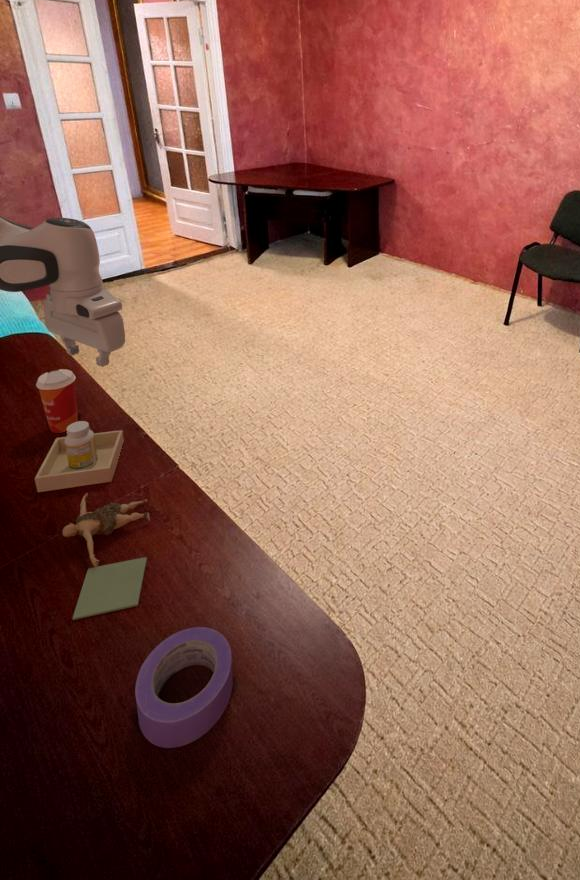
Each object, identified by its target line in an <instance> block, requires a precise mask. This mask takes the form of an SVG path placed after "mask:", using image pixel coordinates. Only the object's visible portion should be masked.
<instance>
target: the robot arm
mask: <svg viewBox="0 0 580 880" xmlns="http://www.w3.org/2000/svg"><path fill="white" fill-rule="evenodd" d="M100 260H101V259H100V252H99V247H98V243H97V238H96V235H95V233H94V230H93V228H92V227H91V226H90V225H89V224H88V223H86V222H84V221H83V220H79V219H75V218H69V217H51V218H47V219H45V220H44V221H43V222H42V223H40V224H39V225H37V226H35V227H33V226H29V225H26V224H21V223H17V222H14V221H12V220H9V219H8V218H5V217H3V216H1V215H0V291H3V292H7V293H19V292H26V291H30V290H35V289H40V288H43V287H47V286H49V288H50V289H49V291H48V292H47V293H46V295H45V299H46V301H44V303H43V315H44V325H45V328H46V330H47V331H48V332H50V333H53V334H54V335H55V334H56V335H58V336H60V337H59V339H60V340H61V342H62V343H63V346H64V347H65V350H66V354H68V355H70V356H75V355H78V354H79V353H80V346H79V345H78V344H77V343H80V344H82V345H85V346H88V347H90V348H94V349H96V350H97V351H96V352H97V353H99V355H98V356H97V357H95V361H96V365H97V366H99V367H101V368H104V367H106V366H108V365H109V364H110V358H109V357H110V355H111V353H112V352H115V351H118V350H120V349H122V348H123V347H124V346H125V343H126V331H125V323H124V318H123V315H122V314H121V313H120V312H119V311H122V310H123V303H122V301H121V300H120V299H119V298H118V297H116V296H115V295H114V294H112V293H111V292H110V291H109V289H107V288H106V287H104V283H103V279H102V276H101V274H100V265H101V264H100V263H101V261H100ZM76 342H77V343H76Z"/></svg>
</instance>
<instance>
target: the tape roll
mask: <svg viewBox="0 0 580 880" xmlns="http://www.w3.org/2000/svg"><path fill="white" fill-rule="evenodd" d="M232 655H233V654H232V649H231V646H230V644H229V642H228V640H227V638H226V637H225V636H224V635H223V634H222V633H220V632H219V631H218V630H216V629H213V628H210V627H204V626H194V627H190V628H186V629H182V630H180V631H177V632H176V633H173V634H171V635H170V636H168V637H167V638H165V639H164V640H162V641H161V642H159V644H158V645H157V646H156V647H154V649H153V650H152V651H151V652H150V653H149V654H148V656H147V657H146V659H145V660H144V662H143V663H142V665H141V667H140V669H139V672H138V675H137V677H136V681H135V688H134V689H135V690H134V695H135V703H136V710H137V719H138V725H139V728H140V731H141V733H142V735H143V736H144V738H145V739H146V740H147V741H148V742H149V743H151V744H153V745H154V746H156V747H158V748H163V749H175V748H176V749H177V748H181V747H183V746H187V745H189V744H191V743H194V742H195V741H197V740H199V739H200V738H201V737H203V736H204V735H205V734H207V733H208V732H210V730H211V729H212V728H213V727H214V726H215V725H216V724H217V722H218V721H219V720H220V719H221V717H222V716H223V714H224V713H225V712H226V711H225V710H226V709H227V707H228V705H229V703H230V700H231V697H232V691H233V684H234V681H233V680H234V679H233V658H232V657H233V656H232ZM191 666H203V667H206V668H208V669H209V670H210V671H211V672H212V673H213V674H212V676H211V678H210V680H209V681H208V683H207V684H206V685H205V687H204V688H203V689H202V690H201V691H200V692H198V693H197V694H196V695H194V696H192V697H191V698H189V699H187V700H185V701H182V702H176V703H175V702H174V703H171V702H167V701H164V700H162V699H161V698H159V694H160V692H161V690H162V689H163V687H164V685H165V684H166V682H167V681H168V680H169V679H170V678H171V677H172V676H174V675H175V674H177V672H179V671H181V670H182V669H186V668H188V667H191Z"/></svg>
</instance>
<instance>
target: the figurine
mask: <svg viewBox="0 0 580 880" xmlns="http://www.w3.org/2000/svg"><path fill="white" fill-rule="evenodd" d="M88 494H89V492H86V493H85V494H84V495H83V497H82V498H81V501H80V503H79V506H80V510H79V515H78V516H76V518H75V524H74V523H72V522H69V523H68V524H67V525H65V526H64V527H63V529H62V536H63V537H65V538H71V537H75V536H77V535H79V536H81V537H83V538H84V539H85V540H86V545H87V551H88V555H89V559H90V562H91V564H92V566H93V567H98V566H99V562H100V560H99V559H97V558H96V557H95V556H96V554H94V541H93V536H94V535H96V536H101V535H104V536H109V535H112V534H113V532H114V530H115V531H116V530H117V529H119V528H122V527H124V526H126V525H127V524H129V523H130V522H134V521H137V520H139V519H142V520H146V519H147V521H148V522H150V521H151V517H150V513H149V511H148V512H144V513H139V512H132V513H130V514H127V512H128V511H129V510H134V509H135V508H137V507H138V506H140V505H142V506H144V505H147V504H148V502H149V501H148V499H146V498H144V499H142V500H140V501H139V500H138V501H131V502H129V503H123V504H120V503H119V502H109V503H108V504H106V505H104V506H103V507H99V508H98V507H97V508H96V509H95V510H94V511H87V503H88V500H86V499H87V498H88Z"/></svg>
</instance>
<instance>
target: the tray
mask: <svg viewBox="0 0 580 880" xmlns="http://www.w3.org/2000/svg"><path fill="white" fill-rule="evenodd" d="M93 433H94V437H95V444H96V451H97V458H98V459H97V462H96V464H95V465H94V466H92V467H91V468H89V469H86V470H79V471H72V470H71V469H70V468H69V464H68V459H67V453H66V448H65V438H66V436H62V437H56V438H55V439H54V441H53V443H52V445H51V447H50V449H49V451H48V452H47V454H46V456H45V458H44V460H43V462H42V463H41V465H40V467H39V469H38V471H37V473H36V474H35V477H34V483H35V487H36V492H37V493H43V492H49V491H51V492H52V491H56V490H64V489H70V488H76V487H77V488H78V487H83V486H90V485H96V484H103V483H111V482H112V481H113V479H114V475H115V472H116V468H117V466H118V463H119V460H120V457H119V456H121V454H120V452H121V453H122V451H121V449H122V450H123V448H122V445H123V442H124V443H125V439H124V431H123V429H121V430H111V431H104V432H103V431H102V432H93ZM123 446H124V445H123ZM118 459H119V460H118Z"/></svg>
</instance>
